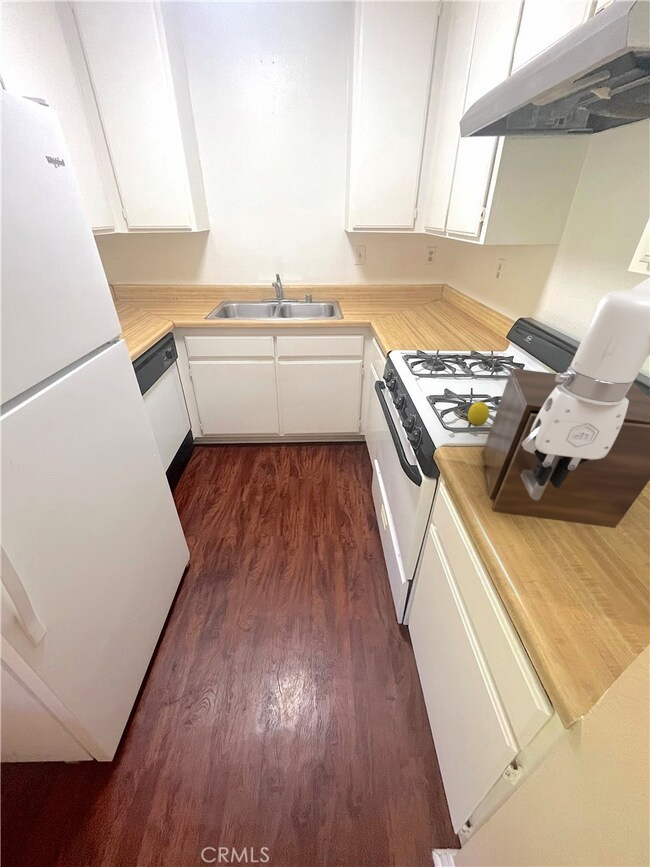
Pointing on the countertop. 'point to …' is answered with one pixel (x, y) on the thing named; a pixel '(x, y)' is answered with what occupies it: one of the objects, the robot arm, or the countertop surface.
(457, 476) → the countertop surface
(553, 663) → the countertop surface
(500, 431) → the cupboard
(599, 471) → the door
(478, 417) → the lemon
